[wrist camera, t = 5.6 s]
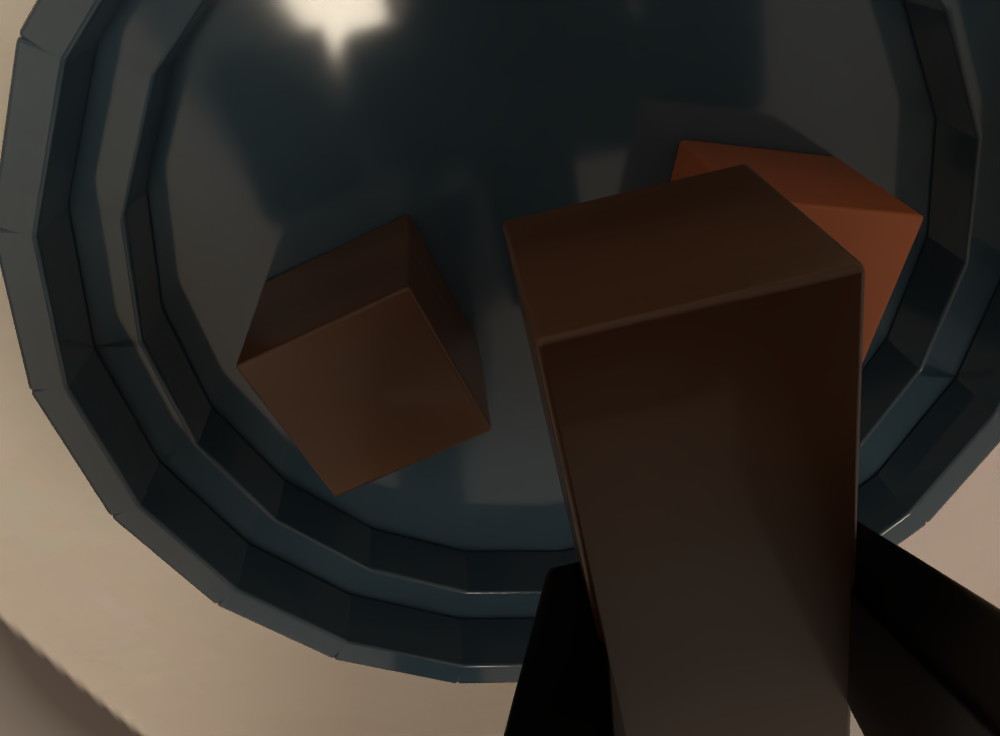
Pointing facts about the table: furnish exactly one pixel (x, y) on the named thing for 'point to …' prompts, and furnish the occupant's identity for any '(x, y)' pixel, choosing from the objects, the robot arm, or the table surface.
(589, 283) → the stick
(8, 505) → the table surface
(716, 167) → the block
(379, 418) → the block
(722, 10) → the bowl
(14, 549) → the table surface
